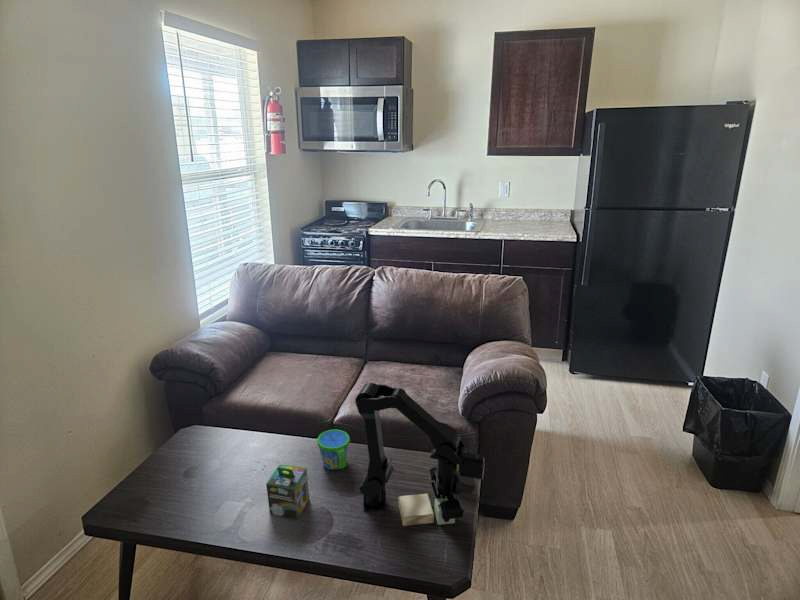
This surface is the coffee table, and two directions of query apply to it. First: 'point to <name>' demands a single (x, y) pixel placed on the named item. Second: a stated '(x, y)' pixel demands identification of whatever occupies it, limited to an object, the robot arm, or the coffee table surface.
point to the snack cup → (333, 448)
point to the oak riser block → (415, 509)
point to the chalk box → (288, 491)
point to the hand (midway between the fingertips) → (444, 514)
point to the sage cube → (438, 514)
